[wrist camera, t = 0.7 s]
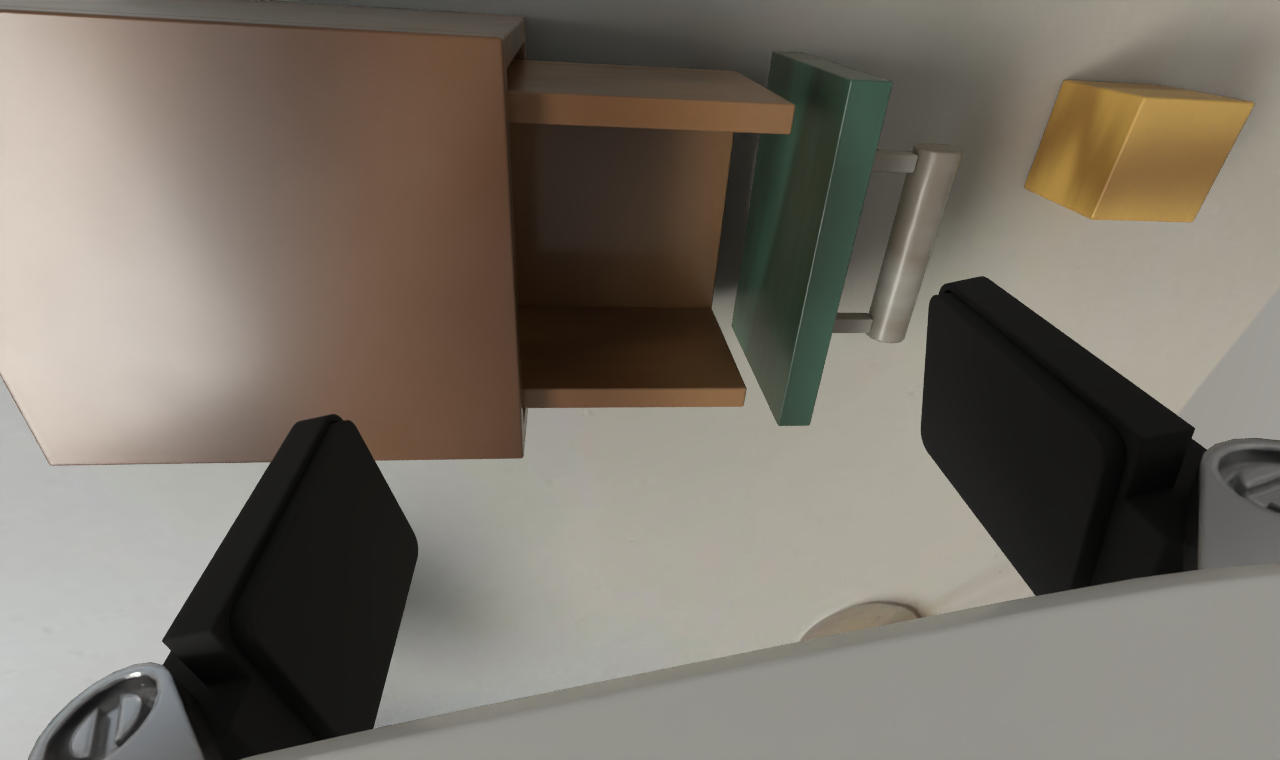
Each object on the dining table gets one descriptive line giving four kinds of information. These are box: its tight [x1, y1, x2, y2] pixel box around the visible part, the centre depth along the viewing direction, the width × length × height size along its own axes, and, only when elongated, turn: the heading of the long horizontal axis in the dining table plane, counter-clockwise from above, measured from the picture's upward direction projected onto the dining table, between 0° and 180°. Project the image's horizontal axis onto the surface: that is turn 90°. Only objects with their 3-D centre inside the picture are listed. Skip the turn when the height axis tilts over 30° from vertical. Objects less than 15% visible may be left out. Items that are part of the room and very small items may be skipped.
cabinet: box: [0, 0, 528, 465], centre depth 22 cm, size 15×13×10 cm
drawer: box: [507, 51, 962, 426], centre depth 23 cm, size 18×11×8 cm, turn 87°
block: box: [1024, 80, 1254, 222], centre depth 26 cm, size 4×4×4 cm
